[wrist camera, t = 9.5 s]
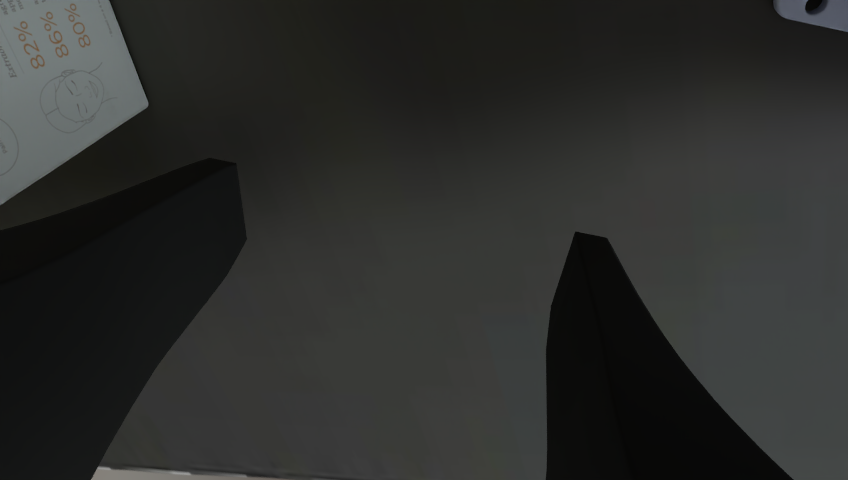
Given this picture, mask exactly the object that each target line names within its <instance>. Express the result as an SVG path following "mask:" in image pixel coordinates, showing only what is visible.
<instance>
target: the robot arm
mask: <svg viewBox="0 0 848 480" xmlns="http://www.w3.org/2000/svg"><path fill="white" fill-rule="evenodd" d="M807 1H808V0H773V5H774V9H775V10H776V12H777V13H778V14H779V15H780V16H782V17H784V18H786V19H790V20H795V21H799V22H804V23H808V24H813V25H818V26H822V27H827V28H831V29H836V30H841V31H845V32H848V0H822V3H821V4H820V5H819V6H818V8H816V9H814V10H812V11H806V10H805V5H806V2H807ZM246 240H247V237H246V230H245V223H244V215H243V208H242V201H241V194H240V187H239V180H238V173H237V166H236V163H232V162H227V161H222V160H217V159H212V158H208V159H205V160H201V161H198V162H195V163H192V164H189V165H187V166H184V167H181V168H179V169H176V170H173V171H171V172H168V173H166V174H163V175H161V176H158V177H156V178H153V179H151V180H148V181H145V182H143V183H140V184H138V185H135V186H133V187H130V188H128V189H125V190H123V191H120V192H118V193H115V194H112V195H110V196H107V197H104V198H101V199H98V200H96V201H93V202H90V203H87V204H84V205H82V206H79V207H76V208H73V209H70V210H68V211H65V212H62V213H59V214H56V215H53V216H50V217H46V218H43V219H40V220H36V221H33V222H30V223H26V224H22V225H19V226H15V227H12V228H8V229H4V230H1V231H0V480H91V479H92V477H93V475H94V473H95V471H96V469H97V467H98V465H99V463H100V462H101V460H102V458H103V456H104V454H105V452H106V450H107V449H108V447H109V445H110V443H111V442H112V440H113V438H114V436H115V435H116V433H117V431H118V429H119V428H120V426H121V424H122V423H123V421H124V419H125V417H126V416H127V414H128V412H129V410H130V409H131V407H132V405H133V404H134V402H135V401H136V399H137V397H138V396H139V394H140V393H141V391H142V389H143V388H144V386H145V384H146V383H147V381H148V380H149V378H150V376H151V375H152V373H153V372H154V370H155V369H156V367H157V366H158V364H159V363H160V362H161V360H162V359H163V357H164V356H165V355H166V353H167V352H168V351H169V349H170V348H171V347H172V345H173V344H174V343H175V342H176V340H177V339H178V338H179V336H180V335H181V334H182V333H183V331H184V330H185V329H186V328H187V326H188V325H189V324H190V322H191V321H192V320H193V319H194V317H195V316H196V315H197V313H198V312H199V311H200V310H201V308H202V307H203V306H204V305H205V303H206V302H207V301H208V299H209V298H210V297H211V295H212V294H213V293H214V292H215V290H216V289H217V288H218V286H219V285H220V284H221V282H222V281H223V280H224V278H225V277H226V276H227V274H228V272H229V270H230V269H231V267H232V265H233V264H234V262H235V260H236V258H237V257H238V255H239V253H240V251H241V249H242V247H243V245H244V243H245V242H246ZM546 385H547V472H546V480H793V479H792V478H791V477H790V476H789V475H788V474H787V473H786V472H785V471H784V470H782V469H781V468H780V467H779V466H778V465H777V464H776V463H775V462H774V461H773V460H772V459H771V458H770V457H769V456H768V455H767V454H766V453H765V452H764V451H763V450H762V449H761V448H760V447H759V446H758V445H757V444H756V443H755V442H754V441H753V440H752V439H751V438H750V437H749V436H748V435H747V434H746V433H745V432H744V431H743V430H742V429H741V428H740V427H739V426H738V425H737V424H736V423H735V422H734V421H733V420H732V419H731V417H730V416H729V415H728V414H727V413H726V412H725V411H724V410H723V409H722V408H721V406H720V405H719V404H718V403H717V402H716V401H715V400H714V399H713V397H712V396H711V395H710V394H709V393H708V391H707V390H706V389H705V388H704V387H703V385H702V384H701V383H700V382H699V381H698V380H697V378H696V377H695V376H694V375H693V374H692V372H691V371H690V370H689V369H688V367H687V366H686V365H685V363H684V362H683V361H682V360H681V358H680V357H679V356H678V354H677V353H676V352H675V350H674V349H673V347H672V346H671V344H670V343H669V342H668V340H667V339H666V337H665V336H664V335H663V333H662V332H661V330H660V329H659V327H658V326H657V324H656V322H655V321H654V319H653V318H652V316H651V314H650V313H649V311H648V310H647V308H646V306H645V305H644V303H643V302H642V300H641V298H640V297H639V295H638V293H637V292H636V290H635V288H634V286H633V285H632V283H631V281H630V279H629V277H628V276H627V274H626V272H625V270H624V268H623V266H622V265H621V263H620V261H619V259H618V257H617V255H616V253H615V251H614V249H613V248H612V246H611V244H610V242H609V241H608V239H607V238H605V237H600V236H595V235H590V234H585V233H580V232H575V234H574V237H573V240H572V243H571V247H570V250H569V253H568V256H567V259H566V262H565V265H564V268H563V271H562V274H561V277H560V280H559V283H558V286H557V289H556V293H555V296H554V299H553V302H552V305H551V311H550V320H549V328H548V337H547V346H546Z"/></svg>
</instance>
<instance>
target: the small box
mask: <svg viewBox="0 0 848 480" xmlns="http://www.w3.org/2000/svg"><path fill="white" fill-rule="evenodd" d="M147 107H148V100H147V98H146V95H145V93H144V90H143V88H142V85H141V82H140V80H139V77H138V75H137V72H136V69H135V67H134V64H133V62H132V59H131V56H130V54H129V51H128V49H127V46H126V43H125V41H124V38H123V35H122V33H121V30H120V27H119V25H118V22H117V20H116V17H115V14H114V12H113V9H112V6H111V4H110V1H109V0H0V205H1V204H3V203H4V202H6V201H7V200H9V199H10V198H12V197H13V196H15V195H16V194H17V193H19V192H21V191H22V190H24V189H25V188H27V187H28V186H30V185H31V184H33V183H34V182H36V181H37V180H39V179H40V178H42V177H43V176H45V175H46V174H48V173H49V172H51V171H53V170H54V169H55V168H57V167H58V166H60V165H62V164H63V163H65V162H66V161H67V160H69V159H70V158H72V157H73V156H75V155H77V154H78V153H79V152H81V151H82V150H84V149H85V148H87V147H88V146H90V145H91V144H93V143H95V142H96V141H97V140H99V139H100V138H102V137H103V136H105V135H106V134H108V133H109V132H111V131H112V130H114V129H115V128H117V127H118V126H120V125H121V124H123V123H124V122H126V121H127V120H129V119H130V118H132V117H133V116H135V115H136V114H138V113H139V112H141V111H142V110H144V109H146V108H147Z"/></svg>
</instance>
